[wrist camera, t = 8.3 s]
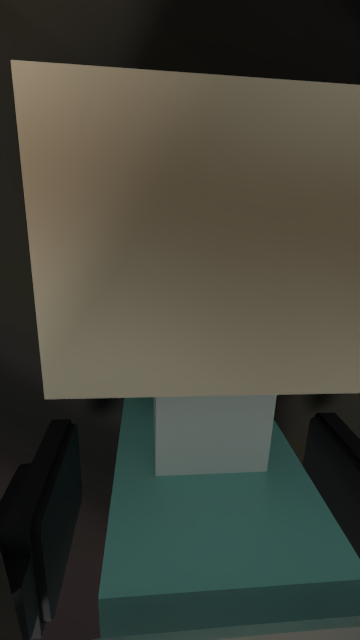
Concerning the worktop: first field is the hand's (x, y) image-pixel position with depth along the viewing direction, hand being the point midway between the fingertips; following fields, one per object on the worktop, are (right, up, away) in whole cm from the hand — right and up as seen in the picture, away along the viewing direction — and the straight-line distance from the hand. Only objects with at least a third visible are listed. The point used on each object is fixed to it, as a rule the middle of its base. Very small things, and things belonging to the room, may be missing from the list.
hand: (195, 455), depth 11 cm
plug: (0, -1, +2) cm, 2 cm away
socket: (0, +7, 0) cm, 7 cm away
